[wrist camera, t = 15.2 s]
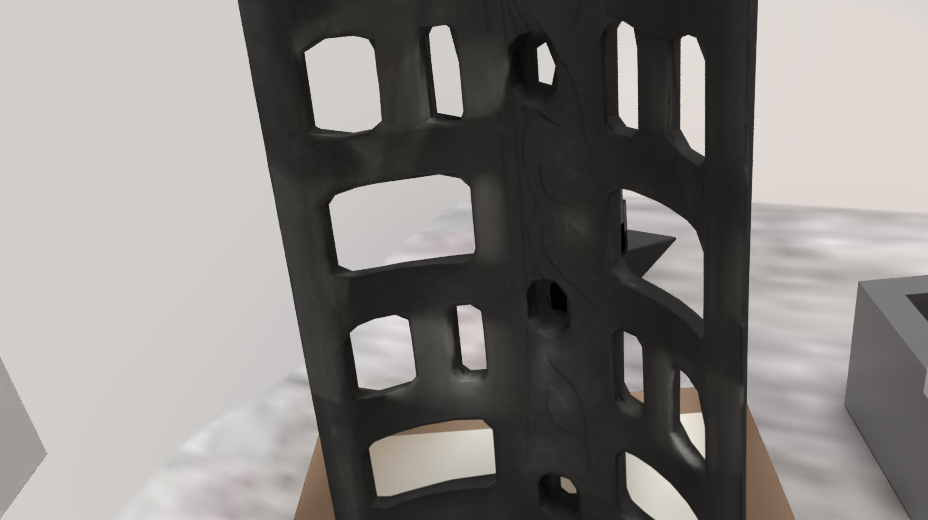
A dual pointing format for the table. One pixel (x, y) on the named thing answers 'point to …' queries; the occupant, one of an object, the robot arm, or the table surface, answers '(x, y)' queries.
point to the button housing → (893, 383)
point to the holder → (524, 247)
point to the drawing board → (472, 454)
